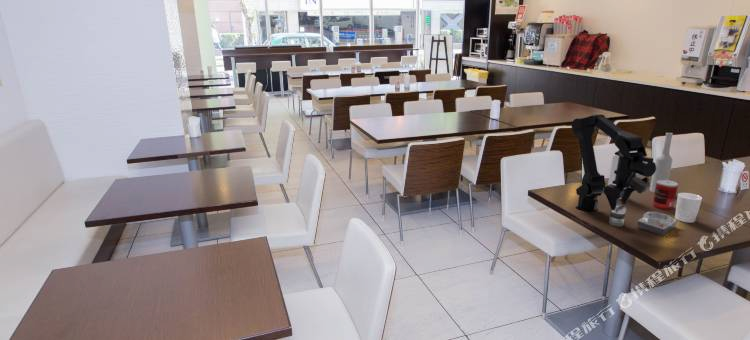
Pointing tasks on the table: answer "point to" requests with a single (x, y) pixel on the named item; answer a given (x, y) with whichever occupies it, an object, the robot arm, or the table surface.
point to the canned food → (665, 194)
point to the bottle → (662, 164)
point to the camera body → (657, 222)
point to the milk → (613, 168)
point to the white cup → (687, 207)
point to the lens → (617, 216)
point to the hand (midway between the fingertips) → (618, 207)
